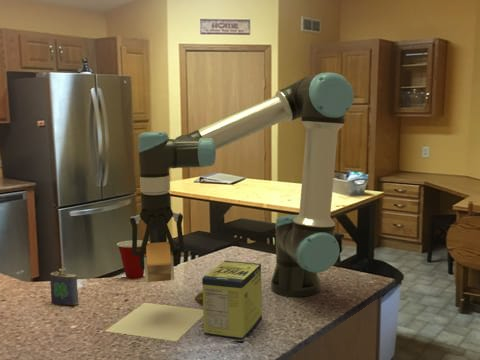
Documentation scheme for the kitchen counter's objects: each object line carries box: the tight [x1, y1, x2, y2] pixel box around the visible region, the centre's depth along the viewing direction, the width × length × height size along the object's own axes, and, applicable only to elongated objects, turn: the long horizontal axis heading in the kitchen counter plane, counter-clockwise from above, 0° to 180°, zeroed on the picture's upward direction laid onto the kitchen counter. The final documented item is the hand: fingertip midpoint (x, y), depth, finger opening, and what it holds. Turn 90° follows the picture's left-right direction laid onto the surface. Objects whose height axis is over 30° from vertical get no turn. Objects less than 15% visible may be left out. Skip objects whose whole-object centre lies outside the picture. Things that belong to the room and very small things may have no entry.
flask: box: [49, 268, 79, 307], centre depth 154 cm, size 9×3×11 cm, turn 68°
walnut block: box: [146, 241, 172, 283], centre depth 138 cm, size 6×6×10 cm
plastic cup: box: [116, 239, 150, 280], centre depth 178 cm, size 11×11×12 cm
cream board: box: [104, 302, 204, 342], centre depth 139 cm, size 20×20×1 cm
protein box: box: [201, 260, 263, 344], centre depth 134 cm, size 10×16×16 cm
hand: (159, 278), depth 138 cm, fingers closed on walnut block, 6 cm apart
